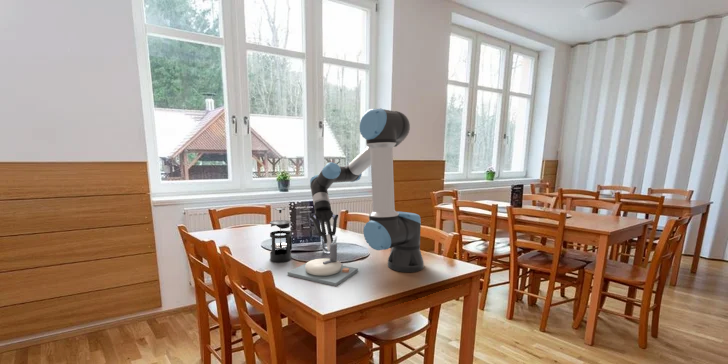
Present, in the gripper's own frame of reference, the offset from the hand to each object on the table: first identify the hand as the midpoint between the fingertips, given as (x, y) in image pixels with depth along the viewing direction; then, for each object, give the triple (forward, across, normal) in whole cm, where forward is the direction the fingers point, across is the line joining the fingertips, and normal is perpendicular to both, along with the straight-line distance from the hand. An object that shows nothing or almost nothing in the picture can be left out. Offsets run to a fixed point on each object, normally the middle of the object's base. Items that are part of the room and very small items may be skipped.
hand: (330, 249), depth 139 cm
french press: (-5, +19, -16) cm, 25 cm away
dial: (+9, +4, +2) cm, 10 cm away
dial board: (+10, +4, 0) cm, 11 cm away
